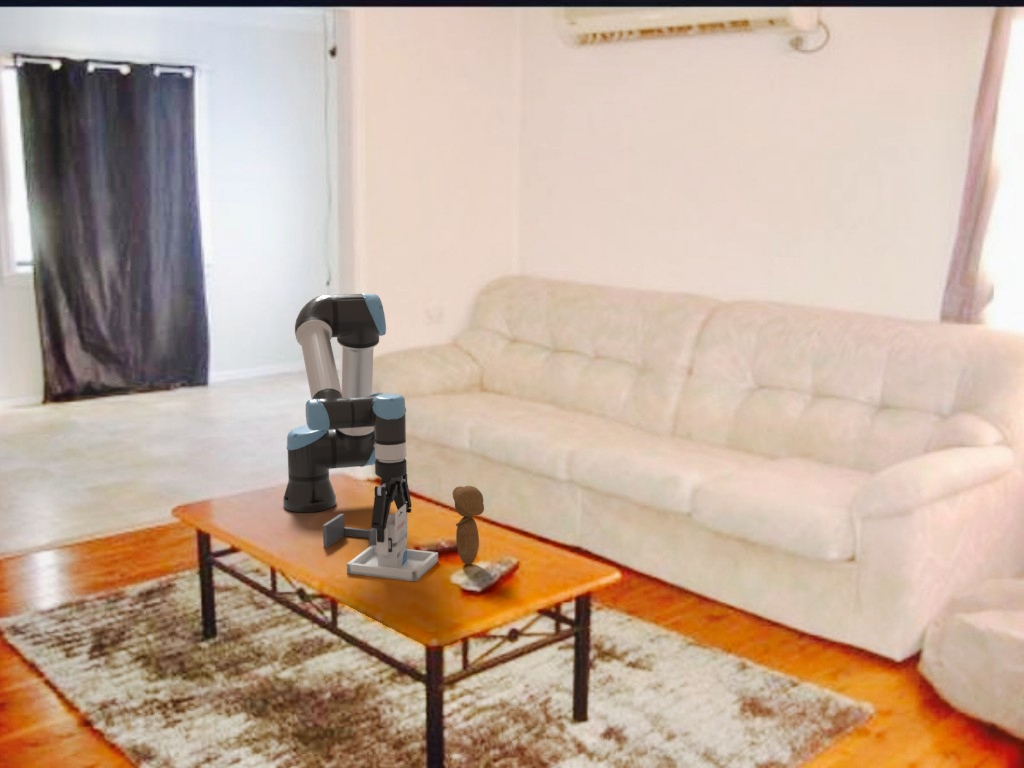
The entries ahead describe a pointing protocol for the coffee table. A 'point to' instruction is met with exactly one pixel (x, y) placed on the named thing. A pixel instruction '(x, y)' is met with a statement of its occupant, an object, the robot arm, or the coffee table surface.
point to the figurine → (467, 521)
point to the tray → (409, 571)
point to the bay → (344, 531)
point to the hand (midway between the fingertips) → (392, 546)
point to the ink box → (395, 540)
